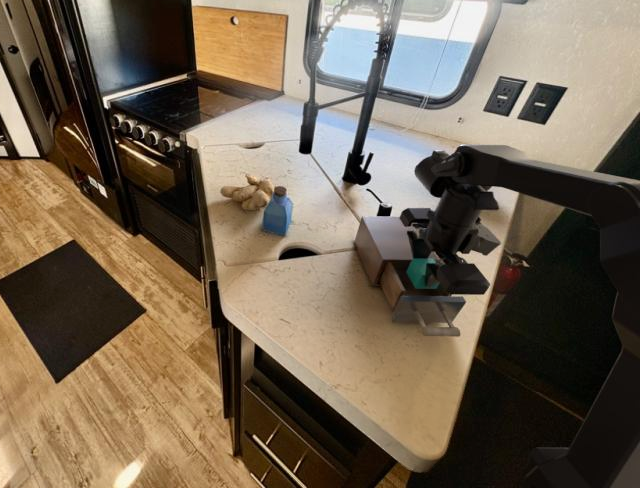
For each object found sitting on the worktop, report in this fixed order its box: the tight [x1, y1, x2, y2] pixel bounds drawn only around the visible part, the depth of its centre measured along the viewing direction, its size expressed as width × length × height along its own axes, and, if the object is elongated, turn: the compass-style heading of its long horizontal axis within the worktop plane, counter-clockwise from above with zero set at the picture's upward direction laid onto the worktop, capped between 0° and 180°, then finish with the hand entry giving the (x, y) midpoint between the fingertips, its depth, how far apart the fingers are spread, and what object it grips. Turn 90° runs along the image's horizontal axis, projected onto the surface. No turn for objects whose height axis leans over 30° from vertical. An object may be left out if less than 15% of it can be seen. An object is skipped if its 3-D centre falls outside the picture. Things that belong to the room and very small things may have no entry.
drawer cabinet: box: [353, 215, 440, 287], centre depth 71 cm, size 14×13×9 cm
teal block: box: [407, 258, 440, 289], centre depth 59 cm, size 4×4×4 cm
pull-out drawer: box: [379, 262, 467, 338], centre depth 61 cm, size 17×11×7 cm, turn 0°
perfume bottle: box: [262, 185, 294, 237], centre depth 81 cm, size 6×6×12 cm
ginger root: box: [219, 173, 277, 211], centre depth 91 cm, size 16×16×8 cm
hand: (422, 276), depth 60 cm, fingers closed on teal block, 4 cm apart
